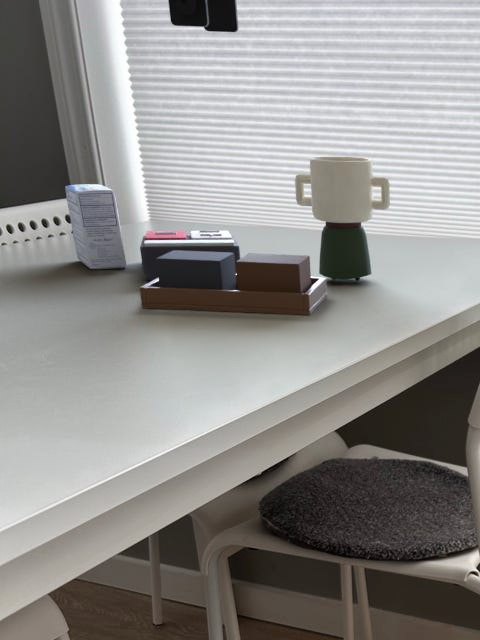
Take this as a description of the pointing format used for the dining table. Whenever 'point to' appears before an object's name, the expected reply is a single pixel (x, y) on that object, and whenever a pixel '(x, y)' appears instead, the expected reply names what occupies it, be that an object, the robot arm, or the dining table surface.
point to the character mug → (342, 211)
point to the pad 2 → (273, 273)
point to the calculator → (183, 246)
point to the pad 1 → (197, 270)
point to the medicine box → (95, 226)
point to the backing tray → (234, 299)
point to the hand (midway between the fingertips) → (206, 28)
